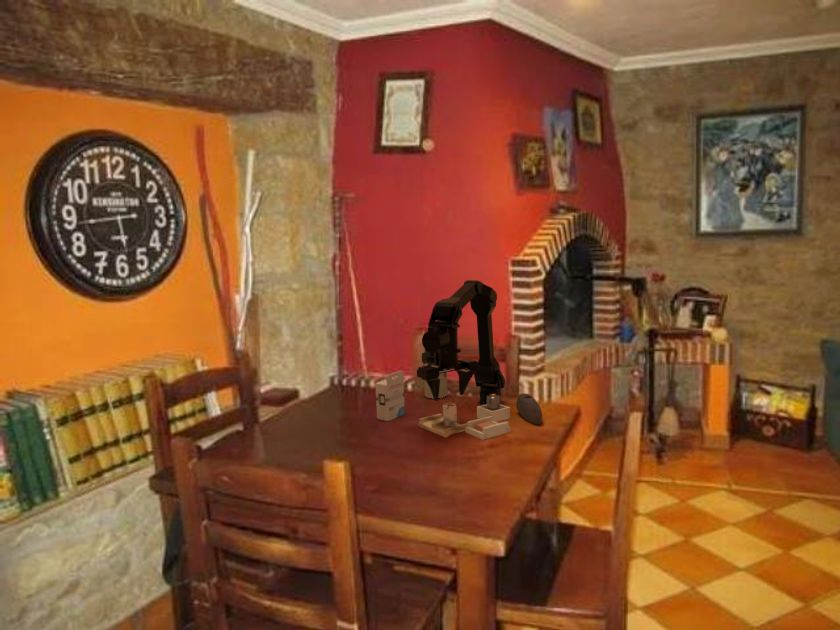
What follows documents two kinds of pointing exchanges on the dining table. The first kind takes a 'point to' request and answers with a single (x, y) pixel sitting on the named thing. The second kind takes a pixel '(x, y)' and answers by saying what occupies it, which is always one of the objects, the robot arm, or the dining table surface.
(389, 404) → the ink box
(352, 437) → the dining table surface
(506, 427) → the cradle
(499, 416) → the bin
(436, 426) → the troughs
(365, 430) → the dining table surface
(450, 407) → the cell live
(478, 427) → the pad
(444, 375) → the travel mug
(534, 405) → the perforated stone tool
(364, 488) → the dining table surface
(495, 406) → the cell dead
